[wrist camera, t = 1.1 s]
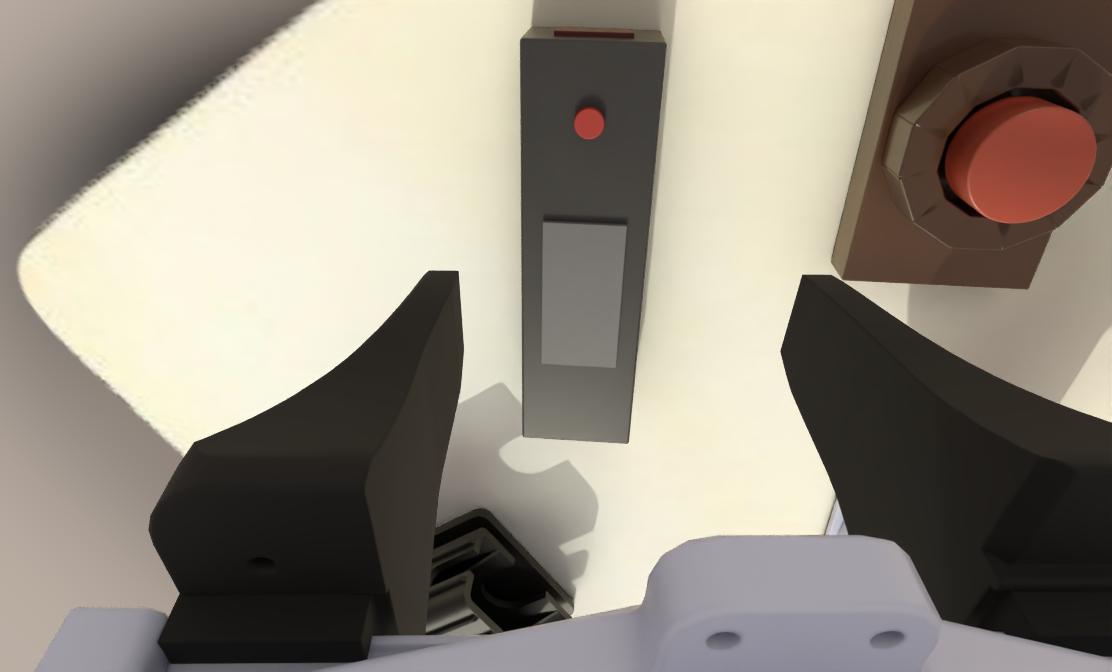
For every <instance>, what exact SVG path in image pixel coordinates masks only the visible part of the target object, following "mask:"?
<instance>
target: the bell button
mask: <svg viewBox="0 0 1112 672" xmlns="http://www.w3.org/2000/svg"><path fill="white" fill-rule="evenodd" d="M1096 149H1097V147H1096V139H1095V135H1094V132H1093V130H1092V128H1091V126H1090V125H1089V123H1088V122H1087V121H1086V120H1085V119H1084V118H1083V117H1082V116H1081V115H1079V114H1078V113H1076V112H1074V111H1072V110H1069V109H1067V108H1064V107H1062V106H1059V105H1056V104H1054V103H1051V102H1048V101H1046V100H1043V99H1041V98H1037V97H1033V96H1012V97H1007V98H1003V99H1000V100H997V101H995V102H992V103H990V104H988V105H986V106H984V107H983V108H981V109H980V110H978V111H977V112H975V113H974V114H973V115H972V116H970V117H969V118H968V119H967V120H966V121H965V122H964V123H963V124H962V126H961V127H960V128H959V129H958V131H957V132H956V134H955V135H954V137H953V139H952V141H951V143H950V145H949V147H948V150H947V154H946V159H945V174H946V179H947V181H948V184H949V186H950V188H951V189H952V191H953V192H954V193H955V194H956V195H957V196H958V197H960V198H961V199H962V200H963V201H965V202H966V203H967V204H969V205H970V206H971V207H973V208H974V209H975V210H977V211H978V212H979V213H980V214H982V215H983V216H985V217H987V218H989V219H991V220H994V221H997V222H1001V223H1023V222H1028V221H1033V220H1036V219H1039V218H1042V217H1044V216H1046V215H1048V214H1050V213H1052V212H1054V211H1056V210H1057V209H1059V208H1060V207H1062V206H1063V205H1064V204H1066V203H1067V202H1068V201H1069V200H1070V199H1072V198H1073V197H1074V196H1075V194H1076V193H1077V192H1078V191H1079V190H1080V189H1081V188H1082V186H1083V185H1084V183H1085V182H1086V180H1087V179H1088V177H1089V175H1090V173H1091V171H1092V168H1093V165H1094V162H1095V158H1096Z"/></svg>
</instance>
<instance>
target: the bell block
mask: <svg viewBox="0 0 1112 672" xmlns="http://www.w3.org/2000/svg"><path fill="white" fill-rule="evenodd" d="M1012 96H1033V97H1037V98H1041V99H1043V100H1046V101H1048V102H1051V103H1054V104H1056V105H1059V106H1062V107H1064V108H1067V109H1069V110H1072V111H1074V112H1076V113H1078V114H1079V115H1081V116H1082V117H1083V118H1084V119H1085V120H1086V121H1087V122H1088V123H1089V125H1090V126H1091V128H1092V130H1093V132H1094V135H1095V139H1096V147H1097V149H1096V158H1095V162H1094V165H1093V168H1092V171H1091V173H1090V175H1089V177H1088V179H1087V180H1086V182H1085V183H1084V185H1083V186H1082V188H1081V189H1080V190H1079V191H1078V192H1077V193H1076V194H1075V196H1074V197H1073V198H1072V199H1070V200H1069V201H1068V202H1067V203H1066V204H1064V205H1063V206H1062V207H1060V208H1059V209H1057V210H1056V211H1054V212H1052V213H1050V214H1048V215H1046V216H1044V217H1042V218H1039V219H1036V220H1033V221H1028V222H1023V223H1001V222H997V221H994V220H991V219H989V218H987V217H985V216H983V215H982V214H980V213H979V212H978V211H977V210H975V209H974V208H973V207H971V206H970V205H969V204H967V203H966V202H965V201H963V200H962V199H961V198H960V197H958V196H957V195H956V194H955V193H954V192H953V191H952V189H951V188H950V186H949V184H948V181H947V179H946V174H945V159H946V154H947V150H948V147H949V145H950V143H951V141H952V139H953V137H954V135H955V134H956V132H957V131H958V129H959V128H960V127H961V126H962V124H963V123H964V122H965V121H966V120H967V119H968V118H969V117H970V116H972V115H973V114H974V113H975V112H977V111H978V110H980V109H981V108H983V107H984V106H986V105H988V104H990V103H992V102H995V101H997V100H1000V99H1003V98H1007V97H1012ZM1111 167H1112V0H895V4H894V8H893V12H892V16H891V20H890V25H889V29H888V33H887V37H886V41H885V45H884V49H883V53H882V57H881V61H880V65H879V69H878V73H877V77H876V81H875V86H874V90H873V94H872V98H871V102H870V106H869V110H868V114H867V118H866V122H865V126H864V130H863V134H862V138H861V142H860V146H859V151H858V155H857V159H856V163H855V167H854V171H853V175H852V179H851V183H850V187H849V191H848V195H847V199H846V203H845V207H844V212H843V216H842V220H841V224H840V228H839V232H838V236H837V240H836V244H835V248H834V252H833V256H832V260H831V263H832V265H833V266H834V268H835V269H836V271H837V272H838V274H839V275H840V277H841V278H842V280H849V281H869V282H889V283H910V284H930V285H950V286H970V287H991V288H1011V289H1028V288H1029V287H1030V284H1031V282H1032V279H1033V277H1034V275H1035V272H1036V270H1037V267H1038V265H1039V263H1040V260H1041V258H1042V255H1043V253H1044V251H1045V248H1046V246H1047V243H1048V241H1049V239H1050V236H1051V234H1052V231H1053V230H1055V229H1056V228H1058V227H1059V226H1060V225H1061V224H1063V223H1064V222H1065V221H1066V220H1067V219H1068V218H1069V217H1070V216H1071V215H1072V214H1073V213H1074V212H1076V211H1077V210H1078V209H1079V208H1080V207H1081V206H1082V205H1083V204H1084V203H1085V202H1086V201H1087V200H1089V199H1090V198H1091V197H1092V196H1093V195H1094V194H1095V193H1096V192H1097V191H1098V190H1099V189H1100V188H1101V186H1103V185H1104V183H1105V180H1106V178H1107V176H1108V173H1109V171H1110V169H1111Z"/></svg>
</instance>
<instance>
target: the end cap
mask: <svg viewBox="0 0 1112 672" xmlns="http://www.w3.org/2000/svg"><path fill="white" fill-rule="evenodd" d="M573 611H574V602H573V599H572V598H571V597H570V596H569V595H568V594H567V593H566V592H565V591H564V590H563V589H562V588H561V587H560V586H559V585H558V583H557V582H556V581H555V580H554V579H553V578H552V577H551V576H550V575H549V574H548V573H547V572H546V571H545V570H544V569H543V568H542V567H541V566H540V565H539V563H538V562H537V561H536V560H535V559H534V558H533V557H532V556H531V555H530V554H529V553H528V552H527V551H526V550H525V549H524V548H523V547H522V546H521V545H520V543H519V542H518V541H517V540H516V539H515V538H514V537H513V536H512V535H511V534H510V533H509V532H508V531H507V530H506V529H505V528H504V527H503V526H502V525H501V523H500V522H499V521H498V520H497V519H496V518H495V517H494V516H493V515H492V514H491V513H490V512H489V511H487V510H485V509H476V510H473V511H471V512H469V513H467V514H465V515H463V516H461V517H459V518H456V519H454V520H452V521H450V522H448V523H446V524H444V525H442V526H440V527H437V528H435V534H434V544H433V555H432V565H431V575H430V587H429V599H428V610H427V622H426V635H492V634H497V633H502V632H507V631H512V630H517V629H522V628H527V627H532V626H536V625H541V624H546V623H551V622H556V621H561V620H566V619H571V618H572V617H571V616H570V615H572V614H573Z"/></svg>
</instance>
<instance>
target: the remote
mask: <svg viewBox="0 0 1112 672" xmlns="http://www.w3.org/2000/svg"><path fill="white" fill-rule="evenodd" d="M666 46H667V45H666V42H665V40H664V38H663V36H662V34H661V32H660V31H658V30H633V29H610V28H577V27H531V28H530V29H529V30H528V31H527V32H526V34H525V35H524V36H523V37H522V38H521V40H520V99H521V263H522V428H523V437H530V438H545V439H561V440H577V441H593V442H609V443H625V444H627V443H628V442H629V435H630V424H631V414H632V403H633V393H634V382H635V372H636V361H637V351H638V340H639V330H640V319H641V309H642V298H643V288H644V277H645V267H646V256H647V246H648V235H649V225H650V214H651V204H652V193H653V183H654V172H655V162H656V151H657V141H658V130H659V120H660V109H661V99H662V88H663V78H664V67H665V57H666Z"/></svg>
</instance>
